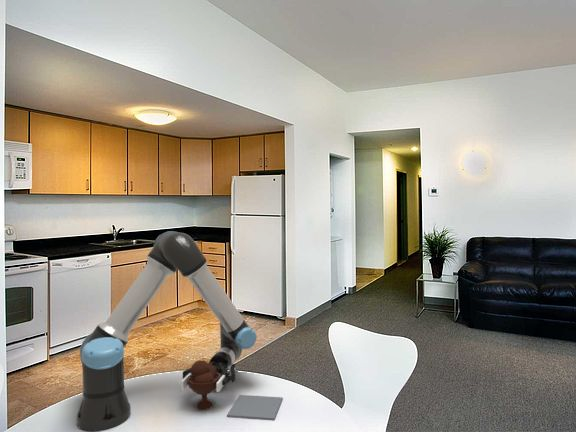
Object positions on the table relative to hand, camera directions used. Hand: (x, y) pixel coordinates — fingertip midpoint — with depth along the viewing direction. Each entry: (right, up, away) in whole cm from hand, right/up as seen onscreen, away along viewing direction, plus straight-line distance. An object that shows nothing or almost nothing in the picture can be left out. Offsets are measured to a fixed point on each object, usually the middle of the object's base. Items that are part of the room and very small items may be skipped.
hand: (199, 386), depth 128 cm
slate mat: (+18, -8, +2) cm, 19 cm away
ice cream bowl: (+1, -8, +4) cm, 9 cm away
